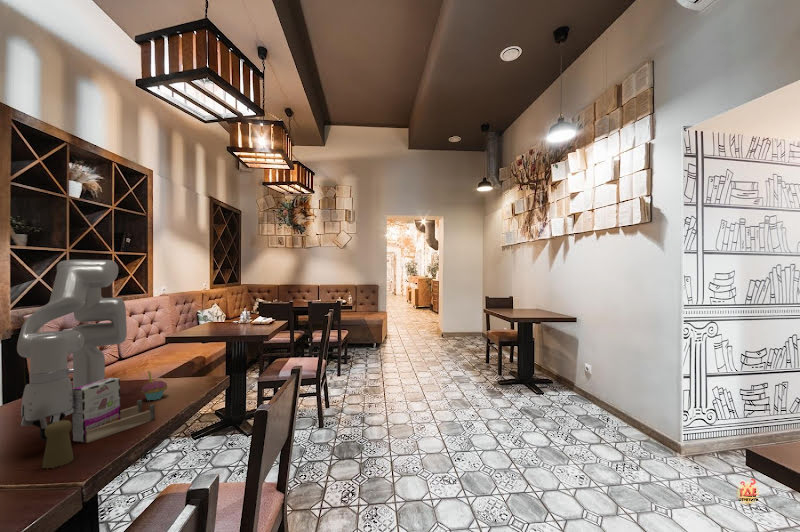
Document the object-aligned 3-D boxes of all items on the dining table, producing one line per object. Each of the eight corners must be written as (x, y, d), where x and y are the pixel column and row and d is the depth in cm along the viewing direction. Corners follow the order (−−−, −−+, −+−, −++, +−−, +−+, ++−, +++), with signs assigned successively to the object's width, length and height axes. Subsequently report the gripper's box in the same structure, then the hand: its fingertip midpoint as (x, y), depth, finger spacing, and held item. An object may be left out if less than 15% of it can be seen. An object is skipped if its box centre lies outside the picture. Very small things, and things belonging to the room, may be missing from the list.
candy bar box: (109, 425, 112) (109, 377, 112) (121, 426, 111) (121, 377, 111) (70, 441, 101) (71, 388, 101) (83, 443, 100) (83, 389, 100)
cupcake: (146, 404, 130) (146, 374, 130) (137, 400, 134) (137, 371, 135) (171, 397, 137) (171, 368, 137) (161, 393, 142) (161, 365, 142)
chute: (74, 435, 105) (74, 419, 105) (140, 413, 121) (140, 399, 121) (87, 443, 100) (87, 426, 100) (154, 419, 116) (154, 404, 116)
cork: (56, 457, 92) (57, 418, 93) (79, 455, 93) (80, 416, 93) (34, 470, 86) (35, 428, 87) (59, 468, 87) (59, 426, 87)
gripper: (78, 368, 105) (77, 426, 104) (6, 382, 92) (5, 448, 91) (87, 371, 101) (87, 431, 101) (14, 386, 88) (13, 455, 88)
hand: (48, 439), depth 96 cm, fingers closed
